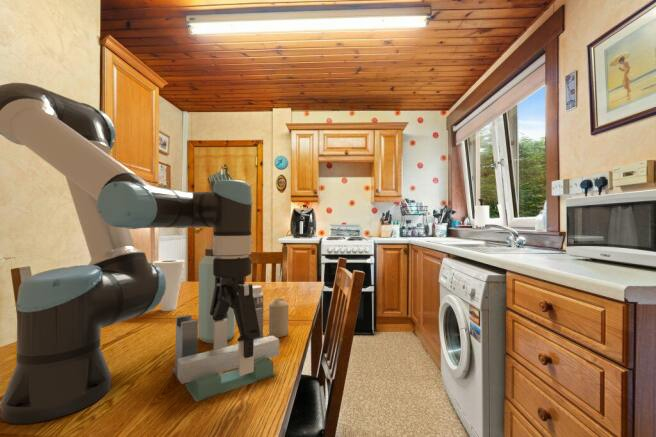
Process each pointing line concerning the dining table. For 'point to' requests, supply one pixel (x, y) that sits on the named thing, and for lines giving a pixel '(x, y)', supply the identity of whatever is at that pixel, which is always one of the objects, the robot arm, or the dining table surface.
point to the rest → (228, 380)
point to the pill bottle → (258, 296)
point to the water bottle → (210, 301)
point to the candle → (278, 318)
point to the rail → (222, 359)
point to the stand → (196, 336)
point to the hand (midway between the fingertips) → (232, 361)
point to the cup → (171, 282)
